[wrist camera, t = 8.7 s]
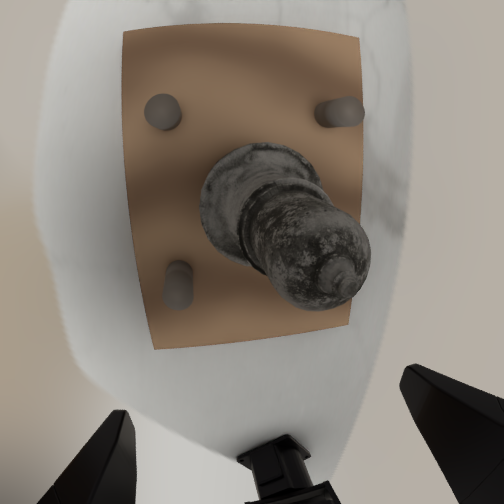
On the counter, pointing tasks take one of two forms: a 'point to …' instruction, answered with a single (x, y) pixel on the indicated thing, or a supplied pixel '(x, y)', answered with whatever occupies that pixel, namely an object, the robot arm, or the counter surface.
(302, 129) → the peg board
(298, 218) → the dark grey turned piece
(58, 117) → the counter surface
